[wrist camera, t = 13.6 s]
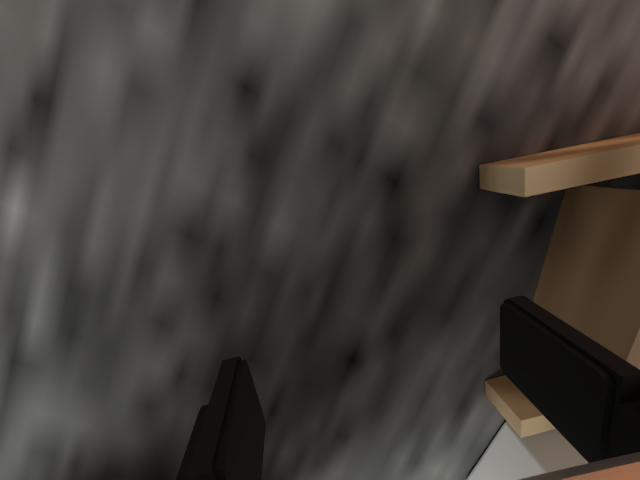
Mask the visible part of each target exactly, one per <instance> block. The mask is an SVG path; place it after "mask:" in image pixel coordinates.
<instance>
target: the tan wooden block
mask: <svg viewBox="0 0 640 480" xmlns="http://www.w3.org/2000/svg"><path fill="white" fill-rule="evenodd" d="M533 302H534V303H536V304H537V305H539V306H540V307H542V308H544V309H545V310H547V311H548V312H550V313H551V314H553V315H555V316H556V317H558V318H559V319H561V320H562V321H564V322H566V323H567V324H569V325H570V326H572V327H574V328H575V329H577V330H578V331H580V332H581V333H583V334H585V335H586V336H588V337H589V338H591V339H592V340H594V341H596V342H597V343H599V344H600V345H602V346H603V347H605V348H607V349H608V350H610V351H611V352H613V353H614V354H616V355H618V356H619V357H621V358H622V359H624V360H625V361H627V362H629V363H630V364H632V365H633V366H635V367H637V368H638V369H640V190H636V189H624V188H612V187H600V186H588V185H581V186H576V187H571V188H567V189H566V190H565V194H564V197H563V200H562V204H561V207H560V211H559V214H558V217H557V221H556V224H555V228H554V231H553V234H552V238H551V241H550V244H549V248H548V251H547V255H546V258H545V261H544V265H543V268H542V272H541V275H540V278H539V282H538V285H537V289H536V292H535V295H534V299H533Z"/></svg>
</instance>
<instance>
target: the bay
mask: <svg viewBox="0 0 640 480" xmlns="http://www.w3.org/2000/svg"><path fill="white" fill-rule="evenodd" d="M638 173H640V133H636V134H631V135H626V136H621V137H616V138H611V139H606V140H601V141H596V142H591V143H586V144H581V145H576V146H571V147H566V148H561V149H556V150H551V151H546V152H541V153H536V154H531V155H526V156H522V157H517V158H512V159H507V160H502V161H497V162H492V163H487V164H482V165H479V175H480V189H483V190H488V191H493V192H499V193H504V194H509V195H515V196H520V197H529V196H533V195H538V194H543V193H548V192H552V191H557V190H562V189H567V188H571V187H576V186H581V185H586V184H591V183H595V182H600V181H605V180H610V179H614V178H619V177H624V176H629V175H634V174H638ZM485 395H486V397H487V398H488V399H489V400H490V402H491V403H492V404H493V405H494V406H495V408H496V409H497V410H498V411H499V412H500V414H501V415H502V416H503V417H504V418H505V420H506V421H507V422H508V423H509V424H510V426H511V427H512V428H513V429H514V430H515V432H516V433H517V434H518V435H519V436H520V438H523V437H526V436H530V435H534V434H538V433H542V432H546V431H550V430H553V429H556V428H555V427H554V426H553V425H552V424H551V423H550V422H549V421H548V420H547V419H546V418H545V417H544V415H543V414H542V413H541V412H540V411H539V410H538V409H537V408H536V407H535V406H534V405H533V404H532V403H531V402H530V401H529V400H528V399H527V398H526V396H525V395H524V394H523V393H522V392H521V391H520V390H519V389H518V388H517V387H516V386H515V385H514V384H513V383H512V382H511V381H510V380H509V379H508V377H507V376H506V375H505V376H500V377H496V378H492V379H488V380H485Z"/></svg>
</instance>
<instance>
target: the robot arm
mask: <svg viewBox="0 0 640 480" xmlns="http://www.w3.org/2000/svg"><path fill="white" fill-rule="evenodd" d="M500 366H501V369H502V371H503V373H504V374H505V375H506V376H507V377H508V379H509V380H510V381H511V382H512V383H513V384H514V385H515V386H516V387H517V388H518V389H519V390H520V391H521V392H522V393H523V394H524V395H525V396H526V398H527V399H528V400H529V401H530V402H531V403H532V404H533V405H534V406H535V407H536V408H537V409H538V410H539V411H540V412H541V413H542V414H543V415H544V417H545V418H546V419H547V420H548V421H549V422H550V423H551V424H552V425H553V426H554V427H555V428H556V429H557V430H558V431H559V432H560V433H561V434H562V436H563V437H564V438H565V439H566V440H567V441H568V442H569V443H570V444H571V445H572V446H573V447H574V448H575V449H576V450H577V451H578V452H579V453H580V455H581V456H582V457H583V458H584V459H585V460H586V461H587V462H588V463H587V464H583V465H578V466H574V467H570V468H565V469H561V470H557V471H553V472H548V473H544V474H540V475H535V476H531V477H527V478H523V479H518V480H640V369H638V368H637V367H635V366H633V365H632V364H630V363H629V362H627V361H625V360H624V359H622V358H621V357H619V356H618V355H616V354H614V353H613V352H611V351H610V350H608V349H607V348H605V347H603V346H602V345H600V344H599V343H597V342H596V341H594V340H592V339H591V338H589V337H588V336H586V335H585V334H583V333H581V332H580V331H578V330H577V329H575V328H574V327H572V326H570V325H569V324H567V323H566V322H564V321H562V320H561V319H559V318H558V317H556V316H555V315H553V314H551V313H550V312H548V311H547V310H545V309H544V308H542V307H540V306H539V305H537V304H536V303H534V302H533V301H531V300H529V299H528V298H526V297H524V296H517V297H513V298H508V299H505V301H504V304H502V305H501V307H500ZM264 438H265V419H264V415H263V412H262V409H261V405H260V402H259V399H258V396H257V392H256V389H255V386H254V382H253V379H252V376H251V373H250V369H249V366H248V363H247V361H246V360H241V358H240V357H235V358H230V359H225V360H223V361H222V364H221V367H220V370H219V373H218V376H217V380H216V383H215V386H214V389H213V392H212V396H211V399H210V402H209V404H208V405H203V406H202V407H201V409H200V411H199V413H198V416H197V419H196V422H195V425H194V428H193V431H192V434H191V437H190V440H189V443H188V446H187V449H186V451H185V454H184V457H183V460H182V463H181V466H180V469H179V472H178V475H177V478H176V480H261V474H262V462H263V450H264Z"/></svg>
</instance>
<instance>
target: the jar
mask: <svg viewBox="0 0 640 480" xmlns="http://www.w3.org/2000/svg"><path fill="white" fill-rule="evenodd" d="M587 463H588V462H587V461H586V460H585V459H584V458H583V457H582V456H581V455H580V453H579V452H578V451H577V450H576V449H575V448H574V447H573V446H572V445H571V444H570V443H569V442H568V441H567V440H566V439H565V438H564V437H563V436H562V434H561V433H560V432H559V431H558V430H557V429H553V430H550V431H546V432H542V433H538V434H534V435H530V436H526V437H523V438H520V436H519V435H518V434H517V433H516V432H515V430H514V429H513V428H512V427H511V426H510V424H509V423H508V422H507V421H506V422H505V423H504V424H503V426H502V427H501V428H500V430H499V431H498V433H497V434H496V436H495V437H494V439H493V440H492V442H491V443H490V445H489V446H488V448H487V449H486V451H485V452H484V454H483V455H482V457H481V458H480V460H479V461H478V463H477V464H476V465H475V467H474V468H473V470H472V471H471V473H470V474H469V476H468V477H467V479H466V480H518V479H523V478H527V477H531V476H535V475H540V474H544V473H548V472H553V471H557V470H561V469H565V468H570V467H574V466H578V465H583V464H587Z"/></svg>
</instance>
